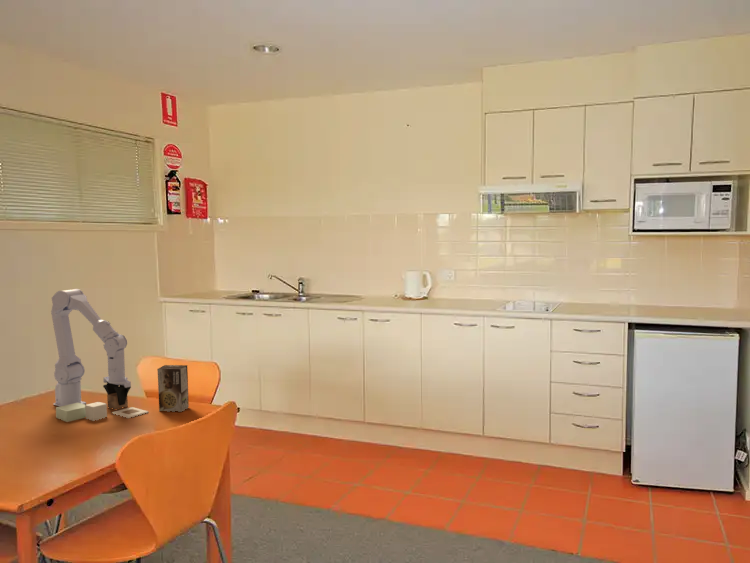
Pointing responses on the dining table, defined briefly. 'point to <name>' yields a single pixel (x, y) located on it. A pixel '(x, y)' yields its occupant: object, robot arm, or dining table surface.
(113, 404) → the walnut cube
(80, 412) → the base block
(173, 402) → the coffee box
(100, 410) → the grey cube
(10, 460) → the dining table surface
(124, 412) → the card
